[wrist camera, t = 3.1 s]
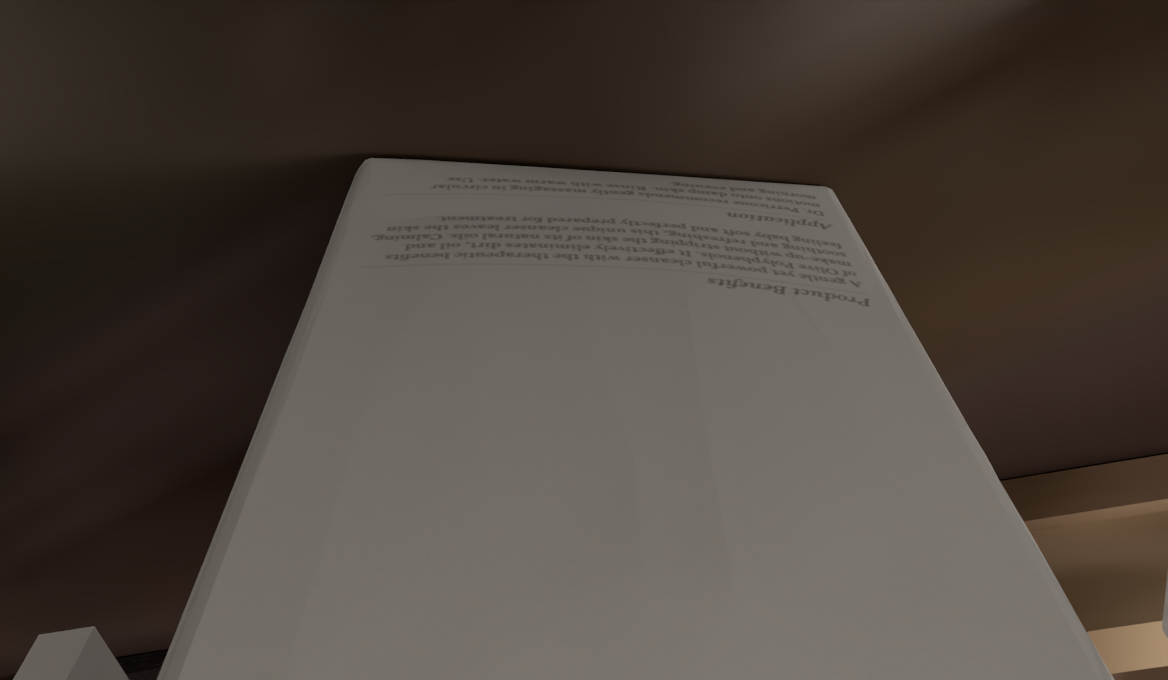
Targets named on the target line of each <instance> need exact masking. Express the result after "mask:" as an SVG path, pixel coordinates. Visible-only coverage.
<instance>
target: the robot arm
mask: <svg viewBox="0 0 1168 680" xmlns="http://www.w3.org/2000/svg"><path fill="white" fill-rule="evenodd" d="M1162 630H1163V632H1164V634H1165V635H1166V637H1167V639H1168V573H1167V583H1166V592H1165V602H1164V612H1163V622H1162ZM13 680H129V678H128V677H127V675H126V674H125V672H124V671H123V669H122V668H121V666H120V665H119V663H118V662H117V660H116V659H115V657H114V655H113V654H112V652H111V651H110V649H109V648H108V646H107V645H106V643H105V642H104V640H103V639H102V637H101V636H100V634H99V632H98V631H97V629H96V628H95V626H93V627H86V628H80V629H73V630H67V631H61V632H54V633H48V634H41V635H39V636H38V637H37V639H36V641H35V642H34V644H33V646H32V648H31V649H30V651H29V653H28V655H27V656H26V658H25V660H24V662H23V663H22V665H21V667H20V668H19V670H18V672H17V674H16V675H15V677H14V679H13Z"/></svg>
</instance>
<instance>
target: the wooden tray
mask: <svg viewBox="0 0 1168 680" xmlns="http://www.w3.org/2000/svg"><path fill="white" fill-rule="evenodd" d="M1000 482H1001V484H1002V486H1003V488H1004V489H1005V491H1006V493H1007V494H1008V496H1009V498H1010V499H1011V501H1012V503H1013V504H1014V506H1015V508H1016V510H1017V511H1018V513H1019V515H1020V516H1021V518H1022V520H1023V521H1024V523H1025V525H1026V526H1027V528H1028V530H1029V531H1030V533H1031V535H1032V537H1033V538H1034V540H1035V542H1036V544H1037V545H1038V547H1039V549H1040V551H1041V552H1042V554H1043V556H1044V558H1045V560H1046V561H1047V563H1048V565H1049V567H1050V568H1051V570H1052V572H1053V574H1054V576H1055V577H1056V579H1057V581H1058V583H1059V584H1060V586H1061V588H1062V590H1063V592H1064V593H1065V595H1066V597H1067V599H1068V600H1069V602H1070V604H1071V606H1072V607H1073V609H1074V611H1075V613H1076V615H1077V616H1078V618H1079V620H1080V622H1081V623H1082V625H1083V627H1084V629H1085V630H1086V632H1087V634H1088V635H1089V637H1090V639H1091V640H1092V642H1093V644H1094V646H1095V647H1096V649H1097V651H1098V652H1099V654H1100V656H1101V657H1102V659H1103V661H1104V662H1105V664H1106V666H1107V668H1108V669H1109V671H1110V673H1111V674H1112V676H1113V678H1114V680H1168V639H1167V637H1166V635H1165V634H1164V632H1163V630H1162V622H1163V612H1164V602H1165V592H1166V583H1167V573H1168V454H1164V455H1158V456H1151V457H1145V458H1139V459H1133V460H1127V461H1121V462H1115V463H1108V464H1102V465H1096V466H1090V467H1084V468H1078V469H1072V470H1065V471H1059V472H1053V473H1047V474H1041V475H1035V476H1028V477H1022V478H1016V479H1010V480H1004V481H1000Z"/></svg>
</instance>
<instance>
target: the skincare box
mask: <svg viewBox="0 0 1168 680" xmlns="http://www.w3.org/2000/svg"><path fill="white" fill-rule="evenodd" d="M157 680H1114V678H1113V676H1112V674H1111V673H1110V671H1109V669H1108V668H1107V666H1106V664H1105V662H1104V661H1103V659H1102V657H1101V656H1100V654H1099V652H1098V651H1097V649H1096V647H1095V646H1094V644H1093V642H1092V640H1091V639H1090V637H1089V635H1088V634H1087V632H1086V630H1085V629H1084V627H1083V625H1082V623H1081V622H1080V620H1079V618H1078V616H1077V615H1076V613H1075V611H1074V609H1073V607H1072V606H1071V604H1070V602H1069V600H1068V599H1067V597H1066V595H1065V593H1064V592H1063V590H1062V588H1061V586H1060V584H1059V583H1058V581H1057V579H1056V577H1055V576H1054V574H1053V572H1052V570H1051V568H1050V567H1049V565H1048V563H1047V561H1046V560H1045V558H1044V556H1043V554H1042V552H1041V551H1040V549H1039V547H1038V545H1037V544H1036V542H1035V540H1034V538H1033V537H1032V535H1031V533H1030V531H1029V530H1028V528H1027V526H1026V525H1025V523H1024V521H1023V520H1022V518H1021V516H1020V515H1019V513H1018V511H1017V510H1016V508H1015V506H1014V504H1013V503H1012V501H1011V499H1010V498H1009V496H1008V494H1007V493H1006V491H1005V489H1004V488H1003V486H1002V484H1001V482H1000V481H999V479H998V477H997V475H996V473H995V472H994V470H993V468H992V466H991V464H990V462H989V460H988V458H987V457H986V455H985V453H984V451H983V450H982V448H981V447H980V445H979V443H978V442H977V440H976V438H975V437H974V435H973V433H972V432H971V430H970V428H969V426H968V425H967V423H966V421H965V420H964V418H963V416H962V414H961V413H960V411H959V409H958V407H957V406H956V404H955V402H954V400H953V399H952V397H951V395H950V393H949V392H948V390H947V388H946V386H945V385H944V383H943V381H942V379H941V378H940V376H939V374H938V372H937V371H936V369H935V367H934V365H933V364H932V362H931V360H930V359H929V357H928V355H927V353H926V352H925V350H924V348H923V346H922V345H921V343H920V341H919V339H918V338H917V336H916V334H915V332H914V331H913V329H912V327H911V325H910V324H909V322H908V320H907V318H906V317H905V315H904V313H903V311H902V310H901V308H900V306H899V304H898V303H897V301H896V299H895V297H894V295H893V294H892V292H891V290H890V288H889V286H888V285H887V283H886V281H885V280H884V278H883V277H882V275H881V273H880V271H879V270H878V268H877V266H876V264H875V263H874V261H873V259H872V257H871V256H870V254H869V252H868V250H867V249H866V247H865V245H864V243H863V242H862V240H861V238H860V237H859V235H858V233H857V231H856V230H855V228H854V226H853V224H852V223H851V221H850V219H849V217H848V216H847V214H846V212H845V211H844V209H843V207H842V206H841V204H840V202H839V201H838V199H837V197H836V195H835V194H834V192H833V190H832V189H830V188H828V187H824V186H811V185H797V184H783V183H768V182H754V181H739V180H725V179H711V178H696V177H682V176H667V175H651V174H636V173H621V172H605V171H590V170H575V169H559V168H544V167H529V166H512V165H495V164H479V163H462V162H447V161H432V160H412V159H389V158H369V159H367V160H365V161H364V162H363V163H362V165H361V166H360V167H359V169H358V171H357V173H356V174H355V177H354V179H353V182H352V184H351V187H350V189H349V192H348V194H347V197H346V199H345V202H344V204H343V207H342V210H341V212H340V215H339V217H338V220H337V222H336V225H335V228H334V230H333V233H332V236H331V238H330V241H329V244H328V247H327V249H326V252H325V255H324V257H323V260H322V263H321V265H320V268H319V271H318V273H317V276H316V279H315V281H314V284H313V286H312V289H311V292H310V294H309V297H308V299H307V302H306V304H305V307H304V309H303V312H302V314H301V317H300V319H299V322H298V324H297V327H296V329H295V332H294V334H293V336H292V339H291V341H290V344H289V346H288V349H287V351H286V354H285V356H284V358H283V361H282V364H281V366H280V369H279V371H278V374H277V376H276V379H275V381H274V384H273V386H272V389H271V392H270V394H269V397H268V399H267V402H266V404H265V407H264V409H263V412H262V414H261V417H260V420H259V422H258V425H257V427H256V430H255V432H254V435H253V437H252V440H251V443H250V445H249V448H248V450H247V453H246V455H245V458H244V460H243V463H242V465H241V468H240V471H239V473H238V476H237V478H236V481H235V483H234V486H233V488H232V491H231V493H230V496H229V499H228V501H227V504H226V506H225V509H224V511H223V514H222V516H221V519H220V522H219V524H218V527H217V529H216V532H215V534H214V537H213V539H212V542H211V544H210V547H209V549H208V552H207V554H206V557H205V559H204V562H203V564H202V567H201V569H200V572H199V574H198V577H197V579H196V582H195V584H194V587H193V589H192V592H191V594H190V597H189V600H188V602H187V605H186V607H185V610H184V612H183V615H182V617H181V620H180V622H179V625H178V627H177V630H176V632H175V635H174V637H173V640H172V642H171V645H170V647H169V650H168V652H167V655H166V657H165V660H164V662H163V665H162V667H161V670H160V672H159V675H158V677H157Z"/></svg>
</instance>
